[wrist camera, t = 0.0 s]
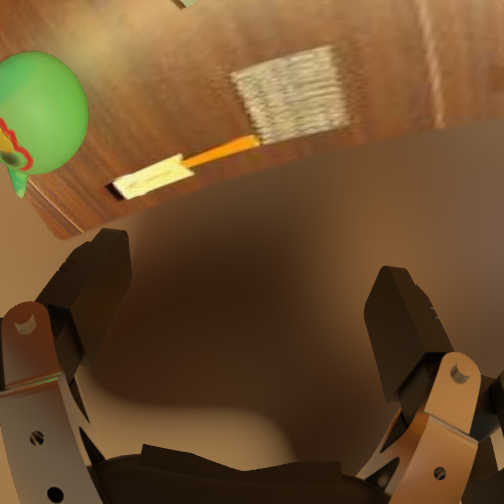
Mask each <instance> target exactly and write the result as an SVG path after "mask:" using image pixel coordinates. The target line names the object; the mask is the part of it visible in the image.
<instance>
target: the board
mask: <svg viewBox="0 0 504 504" xmlns="http://www.w3.org/2000/svg"><path fill="white" fill-rule="evenodd" d="M180 1H181V2H182V3H183V4H184V5H185V6H186V7H187V8H188V7H190V6H191V5H192V4H194V3H195V2H197V1H198V0H180Z"/></svg>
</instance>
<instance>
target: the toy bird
mask: <svg viewBox="0 0 504 504" xmlns="http://www.w3.org/2000/svg"><path fill="white" fill-rule="evenodd" d="M88 119H89V112H88V104H87V99H86V96H85V93H84V90H83V88H82V86H81V84H80V82H79V80H78V79H77V77H76V76H75V74H74V73H73V72H72V71H71V69H70V68H69V67H68V66H67V65H65V64H64V63H63V62H62V61H60V60H59V59H57V58H56V57H54V56H52V55H49V54H47V53H43V52H37V51H28V52H22V53H18V54H15V55H13V56H11V57H9V58H7V59H6V60H4V61H3V62H1V63H0V162H1V163H3V164H4V165H6V166H7V168H8V171H9V175H10V178H11V182H12V185H13V188H14V190H15V192H16V194H17V196H18V197H20V198H22V197H23V196H24V194H25V190H26V186H27V180H28V176H29V174H30V175H38V174H44V173H48V172H51V171H53V170H55V169H57V168H59V167H61V166H62V165H64V164H65V163H66V162H67V161H68V160H69V159H71V157H72V156H73V155H74V154H75V153H76V152H77V150H78V149H79V147H80V145H81V144H82V142H83V140H84V137H85V134H86V131H87V127H88Z"/></svg>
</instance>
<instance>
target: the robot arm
mask: <svg viewBox="0 0 504 504" xmlns="http://www.w3.org/2000/svg"><path fill="white" fill-rule="evenodd" d="M131 280H132V268H131V260H130V250H129V239H128V234H127V232H126V231H125V230H117V229H109V228H103V229H101V231H100V232H99V233H98V234H97V235H96V237H95V238H94V239H93V240H92V241H91V242H88V241H87V242H85V243H84V244H82V245H81V246H79V247H77V248H76V249H74V250H73V252H72V253H71V254H70V255H69V257H68V258H67V259H66V262H64V263H63V264H62V266H61V267H60V268H59V271H57V272H56V273H55V274H54V276H53V277H52V279H51V280H50V281H49V282H48V284H47V285H46V286H45V288H44V289H43V290H42V292H41V293H40V294H39V296H38V298H37V299H36V300H35V301H34V302H32V301H29V302H23V303H20V304H18V305H16V306H14V307H13V308H11V309H10V310H9V311H8V312H7V313H6V315H5V316H4V318H0V425H1V431H2V436H3V441H4V446H5V450H6V455H7V459H8V463H9V467H10V471H11V475H12V478H13V482H14V485H15V488H16V492H17V494H18V498H19V501H20V504H459V503H460V501H461V503H462V504H504V468H503V469H502V470H500V471H498V467H497V463H496V459H495V454H494V451H493V446H492V442H491V438H490V435H492V434H493V433H494V432H495V431H497V430H498V429H499V428H500V427H501V429H502V433H503V436H504V370H503V372H502V373H501V374H500V375H499V376H498V377H497V378H496V379H494V378H490V377H486V376H483V375H480V372H479V370H478V368H477V366H476V365H475V363H474V362H473V361H472V360H471V359H470V358H468V357H467V356H466V355H464V354H461V353H458V352H454V350H453V347H452V345H451V343H450V341H449V339H448V337H447V334H446V332H445V330H444V328H443V326H442V324H441V322H440V320H439V319H438V316H437V314H436V312H435V310H433V306H432V304H431V302H430V300H429V298H428V296H427V295H426V294H425V293H424V292H423V291H422V290H421V289H420V288H419V287H418V286H417V285H415V284H414V282H413V280H412V278H411V276H410V274H409V272H408V271H407V269H405V268H400V267H392V266H383V267H382V268H381V269H380V271H379V273H378V276H377V278H376V280H375V283H374V285H373V287H372V290H371V292H370V294H369V297H368V299H367V301H366V304H365V308H364V319H365V323H366V327H367V330H368V334H369V337H370V341H371V345H372V349H373V352H374V356H375V360H376V363H377V367H378V371H379V375H380V379H381V383H382V387H383V392H384V396H385V400H386V403H387V402H400V404H401V408H400V409H399V410H398V412H397V413H396V415H395V417H394V419H393V421H392V423H391V425H390V427H389V428H388V430H387V432H386V434H385V436H384V437H383V439H382V441H381V443H380V445H379V446H378V448H377V450H376V452H375V453H374V455H373V456H372V458H371V459H370V461H369V462H368V463H367V464H366V465H365V466H364V468H363V469H362V470H361V471H360V472H359V473H358V475H357V476H353V475H350V474H347V473H343V472H341V464H340V461H335V462H293V463H288V464H283V465H278V466H274V467H268V468H262V469H256V470H250V471H240V470H236V469H233V468H230V467H227V466H225V465H222V464H219V463H216V462H213V461H210V460H208V459H205V458H203V457H200V456H197V455H195V454H192V453H187V452H181V451H176V450H171V449H166V448H161V447H156V446H151V445H146V444H143V447H142V451H141V454H131V455H123V456H118V457H114V458H109V456H108V454H107V452H106V450H105V448H104V446H103V444H102V442H101V440H100V438H99V437H98V435H97V433H96V430H95V428H94V426H93V423H92V421H91V419H90V415H89V412H88V410H87V407H86V404H85V401H84V398H83V395H82V393H81V389H80V386H79V383H78V380H77V377H76V375H75V373H76V371H77V368H78V366H79V365H82V366H86V367H89V368H92V367H93V365H94V363H95V361H96V358H97V356H98V354H99V352H100V349H101V347H102V345H103V343H104V340H105V338H106V336H107V334H108V332H109V330H110V327H111V325H112V323H113V321H114V319H115V317H116V315H117V313H118V311H119V309H120V307H121V305H122V302H123V300H124V299H125V297H126V295H127V292H128V291H129V288H130V285H131Z"/></svg>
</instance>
